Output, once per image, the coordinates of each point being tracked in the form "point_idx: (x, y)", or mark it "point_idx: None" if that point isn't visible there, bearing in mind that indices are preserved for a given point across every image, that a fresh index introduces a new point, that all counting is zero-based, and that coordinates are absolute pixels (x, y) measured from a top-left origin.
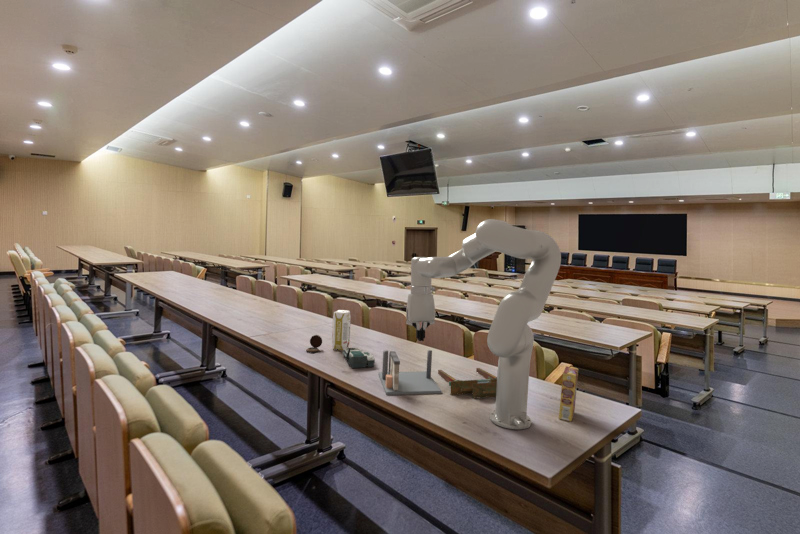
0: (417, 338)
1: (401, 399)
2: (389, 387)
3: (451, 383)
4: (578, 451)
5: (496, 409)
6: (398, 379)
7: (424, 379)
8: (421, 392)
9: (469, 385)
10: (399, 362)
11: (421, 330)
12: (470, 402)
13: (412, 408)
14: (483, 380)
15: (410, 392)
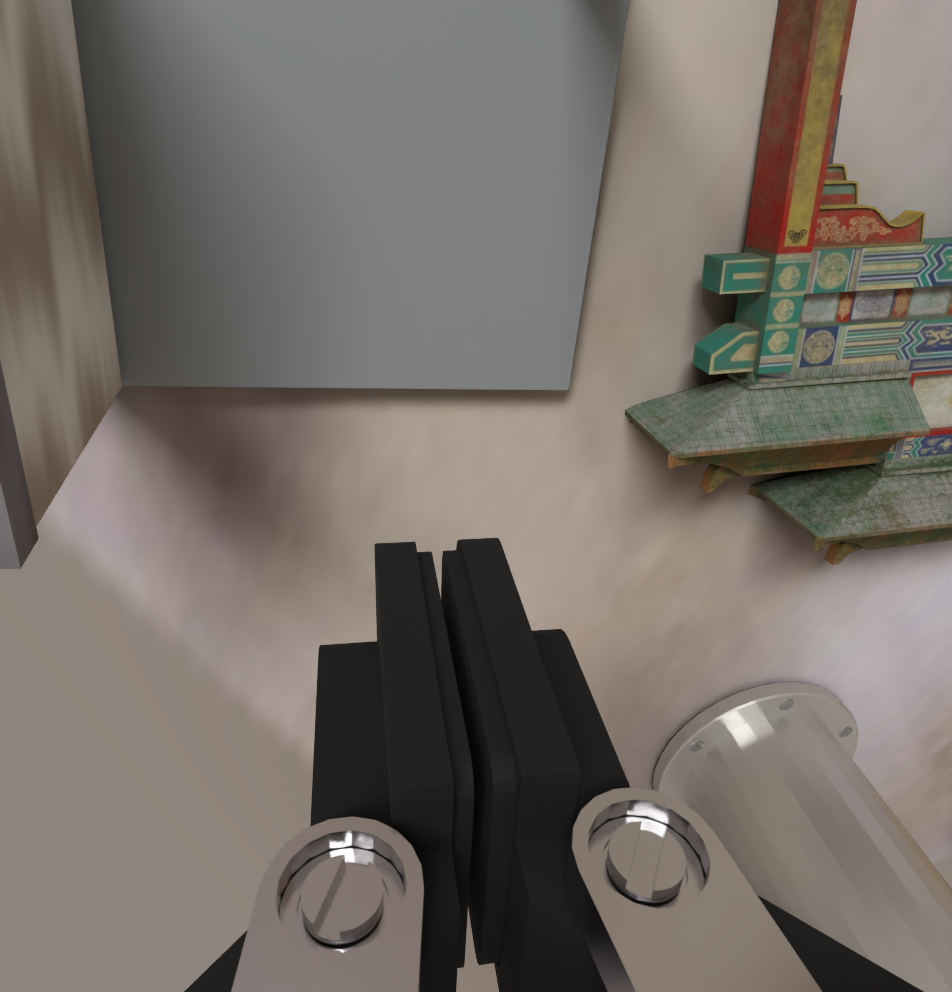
0: (375, 555)
1: (161, 482)
2: None
3: (669, 452)
4: None
5: (706, 815)
6: (88, 437)
7: (516, 6)
8: (373, 383)
9: (815, 451)
10: (18, 559)
11: (481, 933)
12: (691, 553)
13: (237, 631)
14: None
15: (261, 382)
